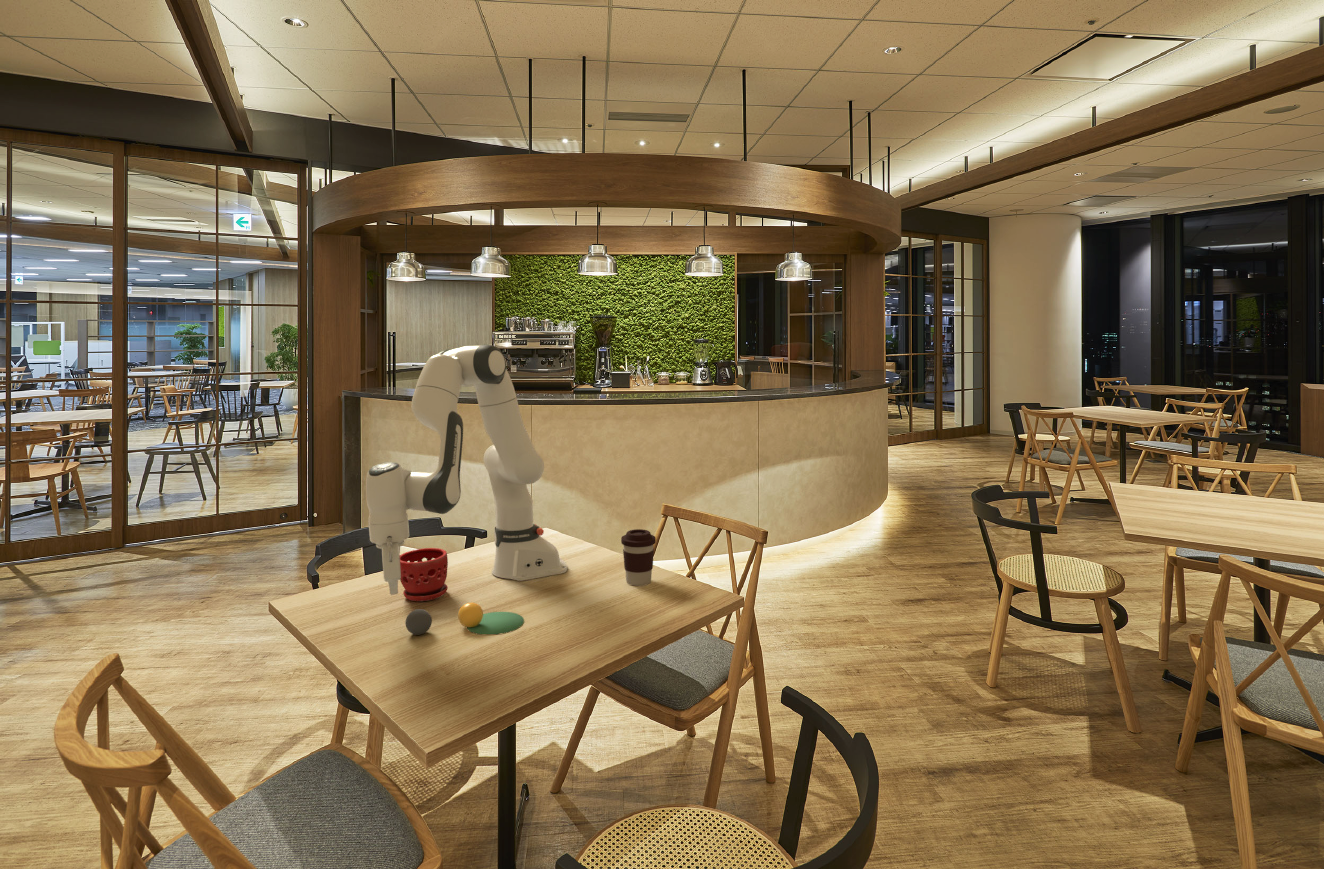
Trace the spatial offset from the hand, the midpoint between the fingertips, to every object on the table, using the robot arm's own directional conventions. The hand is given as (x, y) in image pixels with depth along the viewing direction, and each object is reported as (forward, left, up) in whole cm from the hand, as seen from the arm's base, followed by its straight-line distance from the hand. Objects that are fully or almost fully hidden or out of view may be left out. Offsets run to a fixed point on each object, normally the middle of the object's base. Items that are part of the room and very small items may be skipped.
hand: (394, 586), depth 171 cm
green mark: (-23, +4, -11) cm, 26 cm away
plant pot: (-7, -22, -11) cm, 26 cm away
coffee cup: (-66, -12, -11) cm, 68 cm away
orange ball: (-17, +4, -8) cm, 19 cm away
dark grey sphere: (-5, +4, -8) cm, 10 cm away
